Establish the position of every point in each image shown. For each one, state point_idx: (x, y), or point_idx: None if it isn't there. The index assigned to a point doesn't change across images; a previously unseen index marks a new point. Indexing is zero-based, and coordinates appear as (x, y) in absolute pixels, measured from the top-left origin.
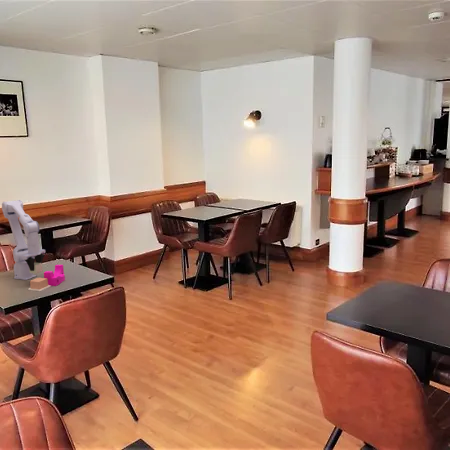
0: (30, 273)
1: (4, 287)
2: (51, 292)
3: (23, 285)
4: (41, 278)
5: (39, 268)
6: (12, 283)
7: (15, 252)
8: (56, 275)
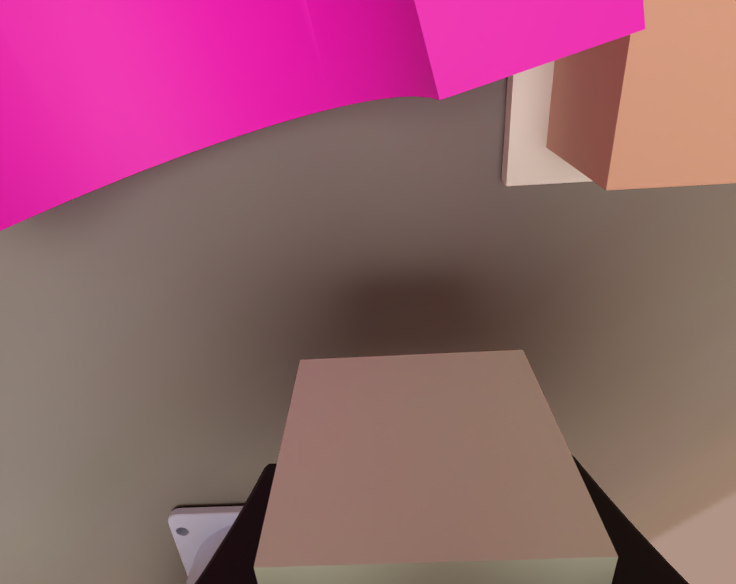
0: None
1: (682, 522)
2: None
3: (567, 389)
4: (682, 24)
5: (396, 426)
6: None
7: None
8: (92, 70)
